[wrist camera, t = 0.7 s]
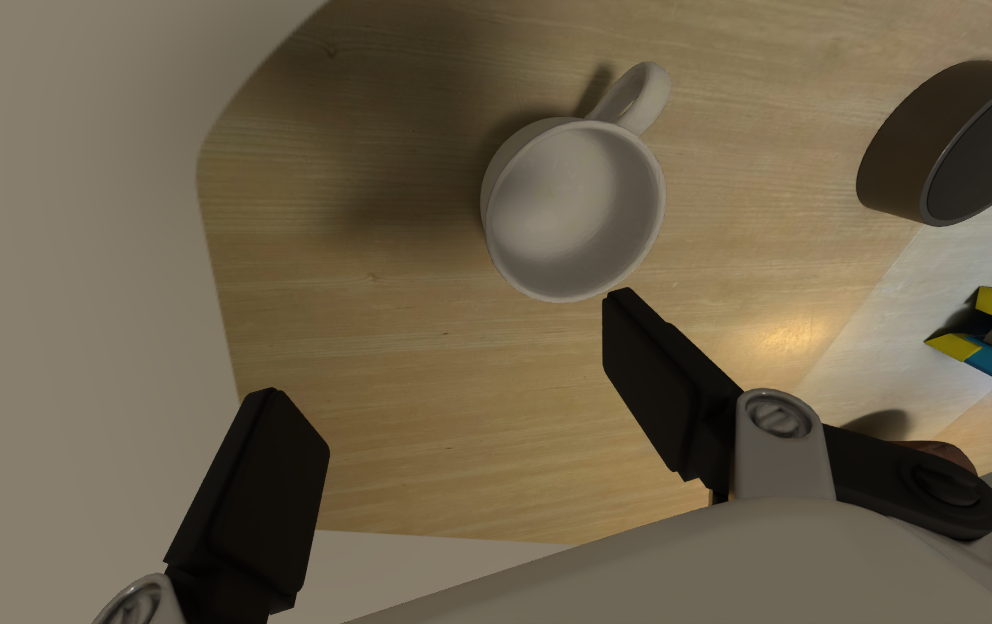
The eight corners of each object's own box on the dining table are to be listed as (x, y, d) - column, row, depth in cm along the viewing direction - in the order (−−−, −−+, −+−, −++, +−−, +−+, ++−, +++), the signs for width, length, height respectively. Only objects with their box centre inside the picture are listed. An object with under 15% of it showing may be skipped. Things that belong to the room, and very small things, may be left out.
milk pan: (968, 27, 26) (1071, 18, 22) (1036, 151, 35) (1120, 161, 31) (833, 178, 31) (896, 194, 27) (920, 254, 40) (979, 275, 36)
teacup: (540, 276, 31) (576, 330, 24) (438, 205, 26) (448, 250, 19) (662, 138, 26) (746, 159, 20) (567, 16, 21) (639, -9, 14)
